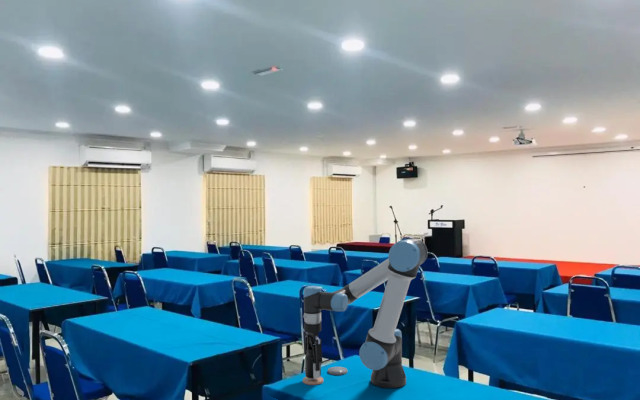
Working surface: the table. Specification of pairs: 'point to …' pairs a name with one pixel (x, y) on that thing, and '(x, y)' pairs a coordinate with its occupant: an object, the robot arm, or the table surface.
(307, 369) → the supplement bottle
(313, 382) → the terracotta coaster
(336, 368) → the slate coaster
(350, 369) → the table surface
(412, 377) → the table surface
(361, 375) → the table surface
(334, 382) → the table surface
